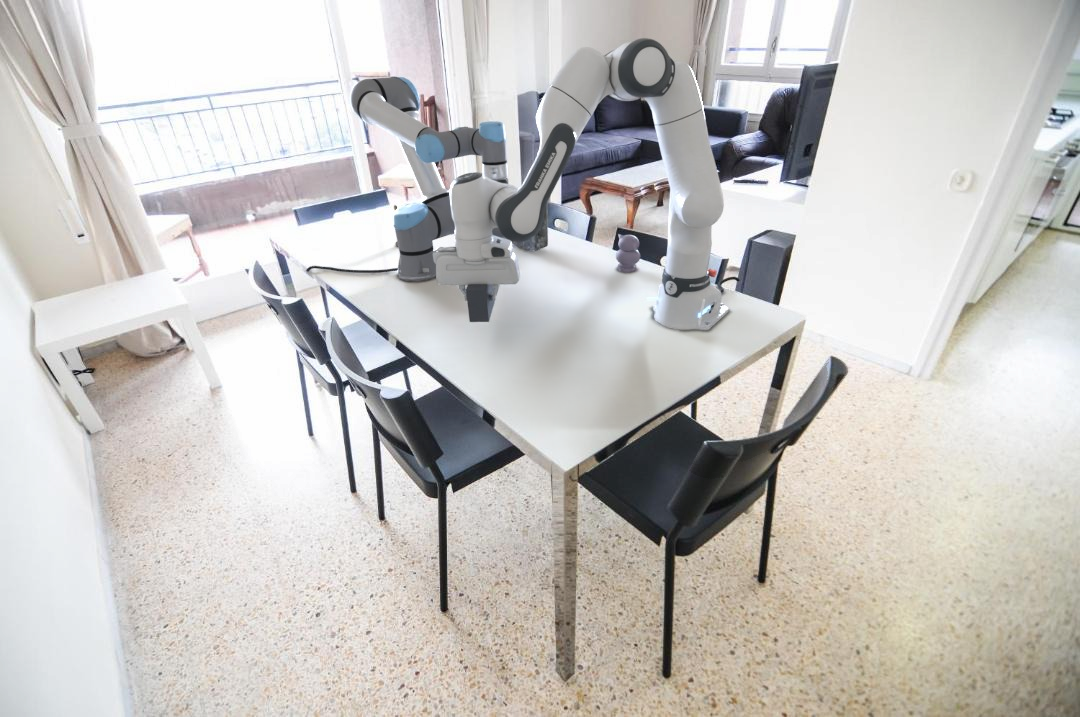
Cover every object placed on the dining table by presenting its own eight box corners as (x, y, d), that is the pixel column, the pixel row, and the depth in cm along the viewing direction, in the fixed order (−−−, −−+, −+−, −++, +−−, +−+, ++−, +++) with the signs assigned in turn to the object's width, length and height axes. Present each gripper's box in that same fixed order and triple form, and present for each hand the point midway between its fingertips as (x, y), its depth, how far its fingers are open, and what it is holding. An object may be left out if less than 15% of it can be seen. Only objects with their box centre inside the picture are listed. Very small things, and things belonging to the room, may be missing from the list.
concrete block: (553, 252, 189) (552, 199, 179) (534, 258, 185) (532, 204, 175) (514, 236, 208) (511, 187, 198) (496, 241, 204) (492, 191, 193)
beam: (495, 248, 168) (493, 222, 163) (510, 248, 167) (508, 222, 163) (469, 322, 122) (465, 289, 118) (488, 322, 122) (485, 289, 118)
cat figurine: (643, 268, 173) (646, 234, 167) (631, 275, 168) (633, 240, 162) (623, 263, 178) (625, 230, 172) (610, 269, 173) (611, 235, 167)
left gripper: (464, 181, 148) (472, 256, 161) (524, 180, 147) (527, 255, 159) (468, 176, 155) (476, 248, 167) (526, 174, 154) (529, 247, 166)
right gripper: (428, 251, 115) (437, 305, 122) (515, 249, 114) (519, 304, 121) (434, 243, 120) (442, 295, 128) (518, 241, 119) (521, 293, 126)
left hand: (501, 251), depth 163 cm, fingers closed on beam, 5 cm apart
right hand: (480, 299), depth 124 cm, fingers closed on beam, 5 cm apart
